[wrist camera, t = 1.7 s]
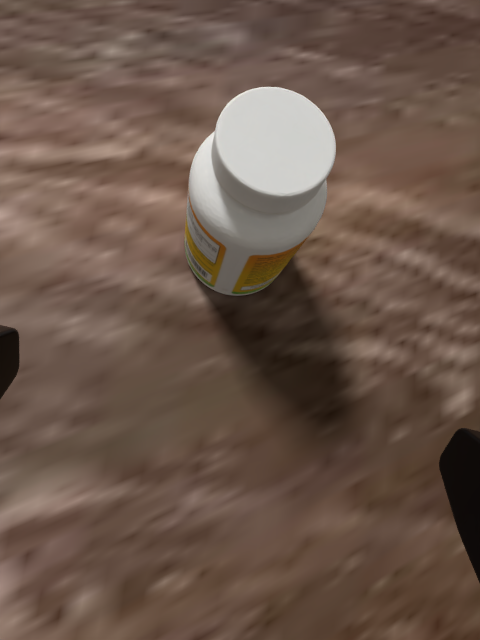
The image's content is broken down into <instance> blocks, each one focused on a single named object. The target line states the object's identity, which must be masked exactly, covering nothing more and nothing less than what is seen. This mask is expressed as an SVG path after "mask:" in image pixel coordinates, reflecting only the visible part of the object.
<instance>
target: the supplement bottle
mask: <svg viewBox="0 0 480 640" xmlns="http://www.w3.org/2000/svg"><path fill="white" fill-rule="evenodd" d="M335 153H336V144H335V137H334V134H333V130H332V128H331V126H330V123H329V122H328V120H327V118H326V117H325V115H324V114H323V113H322V112H321V110H320V109H319V108H318V107H317V106H316V105H314V104H313V103H312V102H311V101H310V100H308V99H307V98H305V97H304V96H302V95H300V94H298V93H296V92H294V91H290V90H287V89H283V88H278V87H260V88H255V89H251V90H248V91H246V92H243V93H241V94H240V95H238V96H236V97H235V98H234V99H232V100H231V101H230V102H229V103H228V104H227V106H226V107H225V108H224V109H223V111H222V113H221V114H220V116H219V119H218V121H217V125H216V129H215V132H213V133H212V134H211V135H210V136H209V137H208V138H207V139H206V140H205V141H204V142H203V143H202V145H201V146H200V148H199V149H198V151H197V153H196V155H195V157H194V160H193V163H192V166H191V170H190V176H189V185H188V201H187V214H186V227H185V252H186V257H187V260H188V263H189V265H190V267H191V269H192V271H193V272H194V274H195V275H196V276H197V278H198V279H199V280H200V281H201V282H202V283H204V284H205V285H206V286H208V287H209V288H211V289H213V290H214V291H217V292H219V293H222V294H226V295H234V296H241V295H248V294H252V293H255V292H258V291H260V290H262V289H264V288H265V287H267V286H268V285H269V284H271V283H272V282H273V281H274V280H275V279H276V277H277V276H278V275H279V274H280V273H281V271H282V270H283V269H284V267H285V266H286V265H287V263H288V262H289V261H290V260H291V258H292V257H293V256H294V254H295V253H296V252H297V251H298V249H299V248H300V247H301V245H302V244H303V243H304V242H305V240H306V239H307V238H308V236H309V235H310V234H311V233H312V231H313V230H314V228H315V227H316V225H317V223H318V222H319V220H320V218H321V216H322V214H323V211H324V208H325V204H326V199H327V182H326V178H327V177H328V175H329V173H330V171H331V169H332V167H333V164H334V160H335Z"/></svg>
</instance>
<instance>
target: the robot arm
mask: <svg viewBox="0 0 480 640" xmlns="http://www.w3.org/2000/svg"><path fill="white" fill-rule="evenodd" d="M18 369H19V334H18V331H17V330H16V329H14V328H11V327H7V326H2V325H0V399H1V397H2V396H3V394H4V393H5V392H6V390H7V389H8V387H9V386H10V384H11V383H12V381H13V380H14V378H15V377H16V375H17V372H18ZM439 468H440V472H441V475H442V479H443V482H444V486H445V489H446V492H447V496H448V499H449V502H450V506H451V509H452V512H453V516H454V519H455V522H456V525H457V528H458V531H459V534H460V536H461V539H462V542H463V544H464V546H465V549H466V551H467V554H468V556H469V559H470V561H471V563H472V566H473V568H474V571H475V573H476V575H477V578H478V580H479V583H480V432H479V431H475V430H471V429H466V428H461V429H458V430H457V431H456V432H455V434H454V435H453V437H452V438H451V440H450V442H449V443H448V445H447V446H446V448H445V450H444V451H443V453H442V455H441V457H440V461H439Z"/></svg>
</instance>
